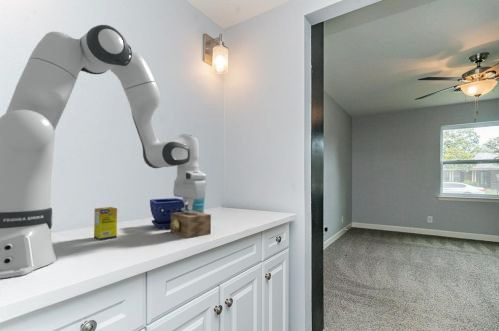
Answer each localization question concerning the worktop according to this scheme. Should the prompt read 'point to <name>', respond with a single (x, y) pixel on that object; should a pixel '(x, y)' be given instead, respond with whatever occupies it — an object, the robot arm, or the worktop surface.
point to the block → (192, 224)
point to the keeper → (189, 211)
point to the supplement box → (105, 223)
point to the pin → (176, 225)
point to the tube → (198, 205)
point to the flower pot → (165, 211)
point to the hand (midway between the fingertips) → (188, 209)
